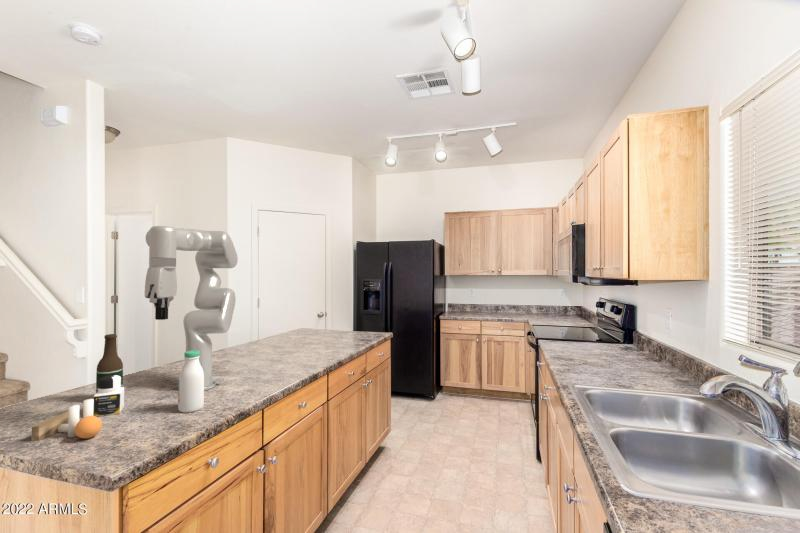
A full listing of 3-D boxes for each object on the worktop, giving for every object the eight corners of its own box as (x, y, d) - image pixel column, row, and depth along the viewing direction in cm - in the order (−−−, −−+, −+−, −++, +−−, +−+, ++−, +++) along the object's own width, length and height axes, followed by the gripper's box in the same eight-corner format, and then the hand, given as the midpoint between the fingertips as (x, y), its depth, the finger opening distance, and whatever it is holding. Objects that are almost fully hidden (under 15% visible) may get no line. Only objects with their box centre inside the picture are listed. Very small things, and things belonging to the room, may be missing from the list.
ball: (84, 420, 109) (107, 415, 110) (81, 442, 106) (105, 436, 108) (71, 417, 104) (96, 412, 105) (68, 440, 101) (93, 434, 103)
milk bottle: (208, 406, 131) (209, 350, 131) (189, 414, 123) (190, 354, 123) (192, 403, 133) (193, 348, 133) (172, 411, 126) (173, 352, 126)
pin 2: (93, 425, 114) (94, 398, 114) (92, 428, 112) (92, 400, 112) (83, 427, 112) (84, 399, 112) (81, 430, 110) (82, 401, 110)
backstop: (75, 423, 115) (76, 410, 115) (38, 440, 103) (39, 426, 103) (69, 423, 115) (69, 410, 115) (31, 440, 103) (31, 426, 103)
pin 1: (79, 433, 109) (80, 404, 109) (77, 436, 106) (78, 406, 107) (69, 434, 107) (69, 405, 107) (66, 438, 105) (67, 408, 105)
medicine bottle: (92, 417, 120) (93, 380, 120) (98, 410, 126) (99, 375, 126) (119, 414, 123) (120, 378, 123) (124, 406, 129) (124, 372, 129)
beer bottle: (107, 403, 132) (109, 336, 132) (90, 402, 133) (91, 335, 134) (127, 396, 140) (129, 333, 140) (110, 395, 141) (112, 332, 141)
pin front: (94, 423, 111) (66, 423, 111) (88, 423, 109) (59, 423, 109) (92, 432, 110) (63, 432, 110) (85, 432, 108) (56, 432, 108)
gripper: (165, 264, 129) (164, 316, 129) (135, 263, 114) (134, 322, 114) (187, 264, 129) (186, 316, 129) (159, 263, 114) (158, 322, 114)
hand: (161, 319), depth 121 cm, fingers closed
